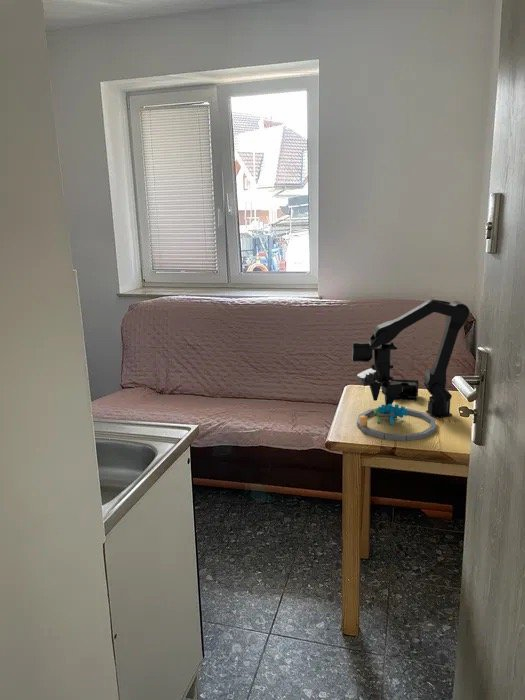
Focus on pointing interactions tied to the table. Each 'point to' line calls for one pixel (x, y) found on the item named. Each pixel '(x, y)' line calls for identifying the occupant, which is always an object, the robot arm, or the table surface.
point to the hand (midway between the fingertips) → (381, 404)
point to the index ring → (403, 437)
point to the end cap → (407, 389)
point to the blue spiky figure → (390, 412)
